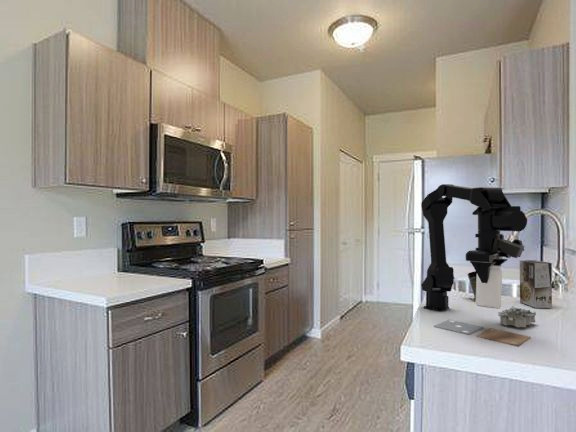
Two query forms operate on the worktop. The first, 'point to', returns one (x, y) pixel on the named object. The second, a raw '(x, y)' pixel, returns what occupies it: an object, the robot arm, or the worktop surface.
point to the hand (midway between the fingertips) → (489, 284)
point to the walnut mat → (504, 337)
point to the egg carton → (517, 317)
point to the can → (490, 289)
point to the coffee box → (536, 283)
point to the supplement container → (473, 281)
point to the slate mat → (458, 327)
